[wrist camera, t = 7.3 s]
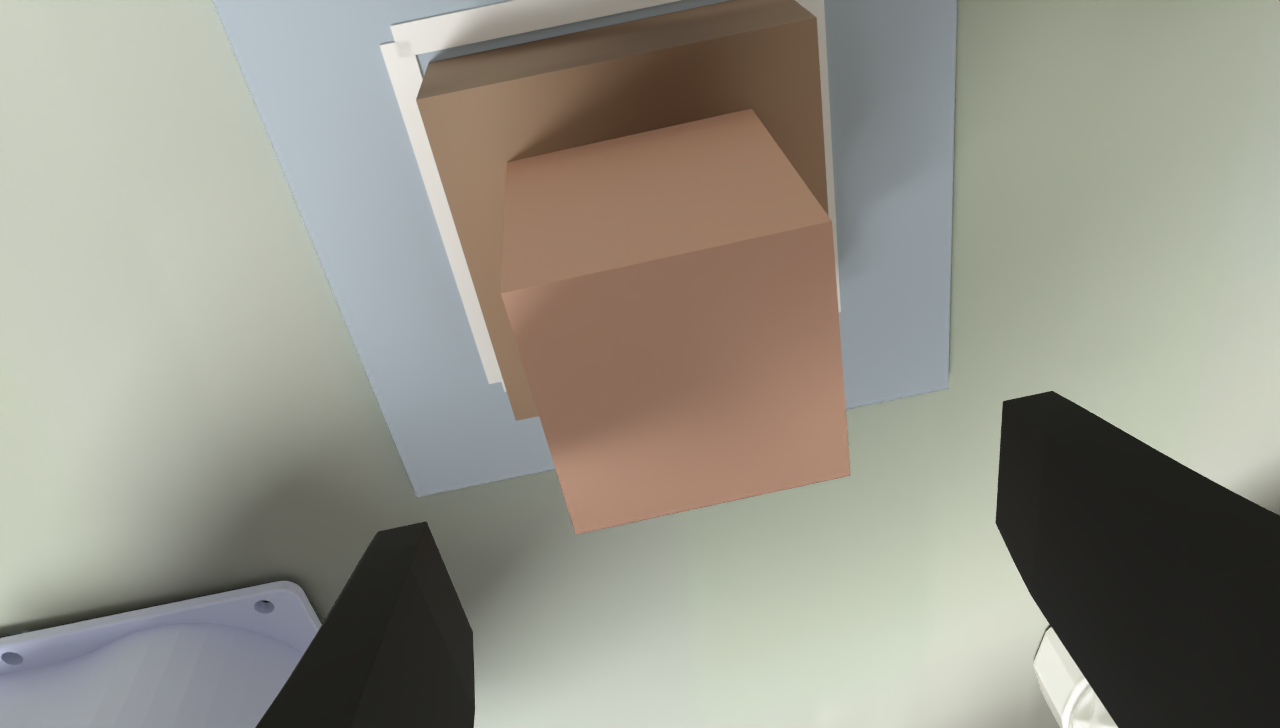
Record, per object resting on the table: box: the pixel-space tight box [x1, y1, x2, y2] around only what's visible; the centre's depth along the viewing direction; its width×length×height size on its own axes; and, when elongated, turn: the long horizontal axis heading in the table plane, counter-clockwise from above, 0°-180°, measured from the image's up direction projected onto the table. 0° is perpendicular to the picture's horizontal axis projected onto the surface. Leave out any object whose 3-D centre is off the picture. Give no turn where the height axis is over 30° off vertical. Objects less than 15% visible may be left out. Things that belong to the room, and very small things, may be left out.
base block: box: [416, 0, 829, 421], centre depth 18 cm, size 7×7×2 cm
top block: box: [501, 109, 850, 534], centre depth 15 cm, size 4×4×5 cm
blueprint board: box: [212, 0, 957, 497], centre depth 20 cm, size 14×14×1 cm
